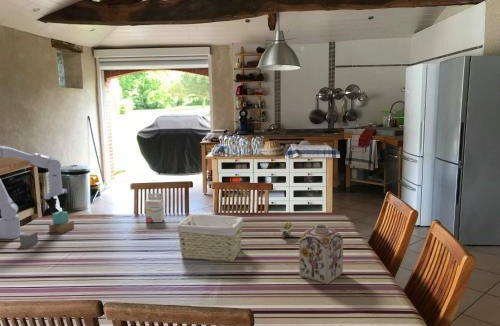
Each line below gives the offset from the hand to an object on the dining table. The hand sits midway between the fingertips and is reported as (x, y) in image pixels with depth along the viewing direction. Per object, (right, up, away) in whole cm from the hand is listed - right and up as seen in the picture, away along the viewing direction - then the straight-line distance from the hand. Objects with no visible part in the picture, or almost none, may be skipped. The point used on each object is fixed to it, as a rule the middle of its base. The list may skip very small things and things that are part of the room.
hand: (57, 209), depth 205 cm
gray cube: (-5, -13, -18) cm, 23 cm away
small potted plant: (+112, -11, -16) cm, 114 cm away
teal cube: (+1, -7, +2) cm, 7 cm away
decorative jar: (+121, -17, -57) cm, 135 cm away
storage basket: (+80, -15, -36) cm, 88 cm away
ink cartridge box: (+45, -8, +13) cm, 48 cm away
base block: (+1, -10, +2) cm, 11 cm away
